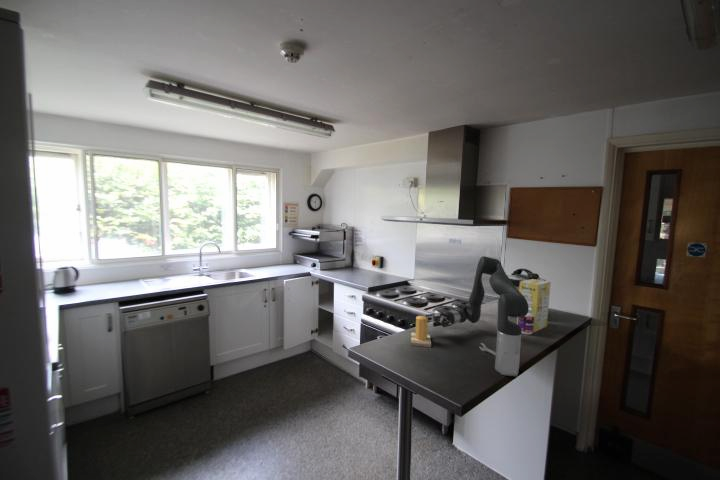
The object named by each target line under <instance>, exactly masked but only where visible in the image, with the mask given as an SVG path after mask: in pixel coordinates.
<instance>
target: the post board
mask: <svg viewBox="0 0 720 480" xmlns="http://www.w3.org/2000/svg"><path fill="white" fill-rule="evenodd" d="M410 346H417V347H425V348H432V340H431V334H430V333H427V340H418V339H415V332H411V333H410Z"/></svg>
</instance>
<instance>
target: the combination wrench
mask: <svg viewBox="0 0 720 480" xmlns="http://www.w3.org/2000/svg"><path fill="white" fill-rule="evenodd" d="M480 345H482V346H479V349H480V351H482V352H488V353H490V354H491V355H493V356H495V357H496V351H494V350H492V349H489V348H488V347H487V345H486V344H485V343H483V342H480Z"/></svg>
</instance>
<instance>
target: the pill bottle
mask: <svg viewBox="0 0 720 480" xmlns="http://www.w3.org/2000/svg"><path fill="white" fill-rule="evenodd" d="M518 325H519V326H520V327H521V328H522V333H521V335H522V334H523V335H527V336H528V335H532V334H533V333H534V332H533V326H534V314H533V313H532V309H531V308H529V310H528V313H527V315H526V316H524V317H518Z"/></svg>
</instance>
